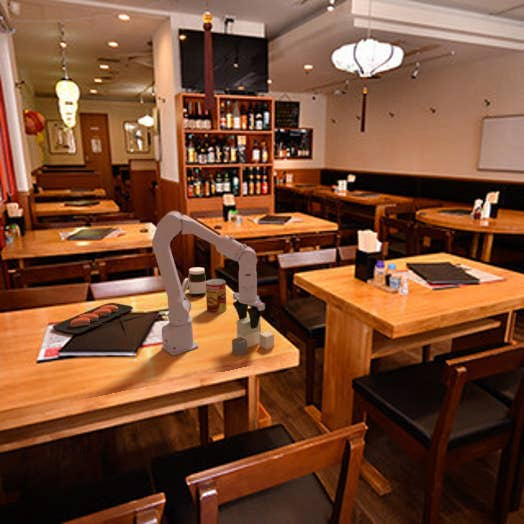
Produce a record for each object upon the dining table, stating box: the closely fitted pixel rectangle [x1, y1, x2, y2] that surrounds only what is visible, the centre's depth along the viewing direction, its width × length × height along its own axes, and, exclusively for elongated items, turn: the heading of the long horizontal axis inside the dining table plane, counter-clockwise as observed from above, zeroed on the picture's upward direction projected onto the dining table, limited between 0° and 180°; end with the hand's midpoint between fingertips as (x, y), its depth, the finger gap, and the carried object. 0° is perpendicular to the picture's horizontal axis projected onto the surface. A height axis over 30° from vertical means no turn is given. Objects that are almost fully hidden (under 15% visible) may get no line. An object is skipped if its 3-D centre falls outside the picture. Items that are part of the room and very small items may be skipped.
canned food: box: [205, 278, 228, 314], centre depth 166 cm, size 8×8×12 cm
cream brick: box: [236, 331, 260, 349], centre depth 136 cm, size 7×3×4 cm, turn 129°
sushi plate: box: [52, 302, 150, 338], centre depth 156 cm, size 29×30×4 cm
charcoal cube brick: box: [231, 337, 248, 357], centre depth 130 cm, size 3×3×4 cm
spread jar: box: [181, 266, 207, 298], centre depth 186 cm, size 12×11×12 cm
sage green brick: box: [236, 316, 261, 336], centre depth 135 cm, size 7×3×4 cm, turn 130°
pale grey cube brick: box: [259, 330, 275, 350], centre depth 135 cm, size 3×3×4 cm
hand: (248, 324), depth 135 cm, fingers open, 5 cm apart
